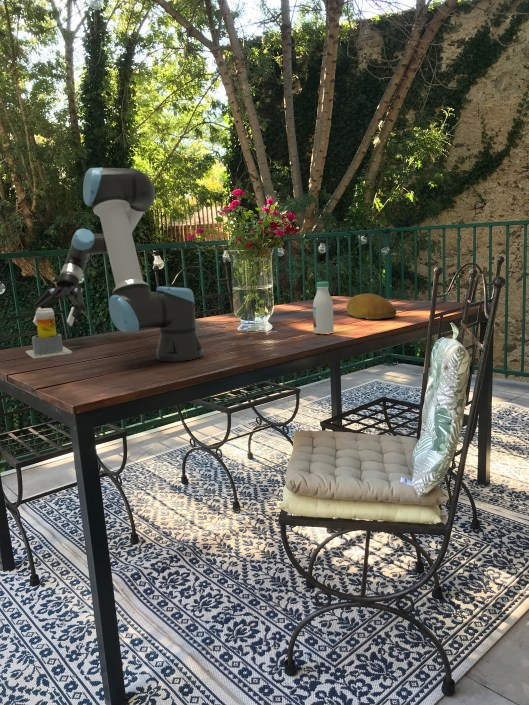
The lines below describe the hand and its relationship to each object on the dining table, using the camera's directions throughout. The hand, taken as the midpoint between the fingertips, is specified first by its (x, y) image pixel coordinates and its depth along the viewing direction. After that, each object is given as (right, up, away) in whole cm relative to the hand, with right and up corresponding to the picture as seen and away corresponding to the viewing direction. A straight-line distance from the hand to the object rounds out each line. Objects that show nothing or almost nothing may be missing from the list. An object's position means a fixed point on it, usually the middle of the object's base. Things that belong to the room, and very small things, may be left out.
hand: (52, 323), depth 210 cm
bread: (+125, +6, +56) cm, 137 cm away
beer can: (0, -10, -3) cm, 10 cm away
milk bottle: (+100, -3, +14) cm, 101 cm away
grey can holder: (0, -11, -3) cm, 11 cm away
